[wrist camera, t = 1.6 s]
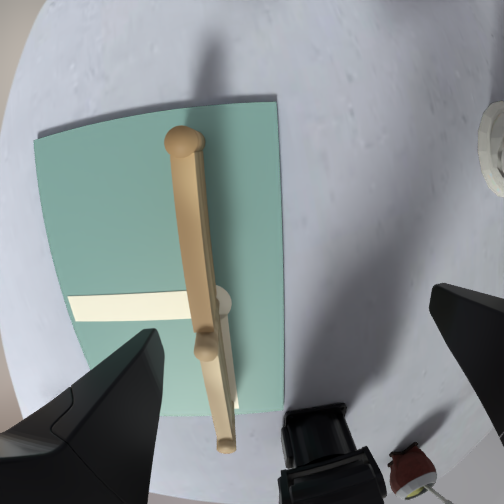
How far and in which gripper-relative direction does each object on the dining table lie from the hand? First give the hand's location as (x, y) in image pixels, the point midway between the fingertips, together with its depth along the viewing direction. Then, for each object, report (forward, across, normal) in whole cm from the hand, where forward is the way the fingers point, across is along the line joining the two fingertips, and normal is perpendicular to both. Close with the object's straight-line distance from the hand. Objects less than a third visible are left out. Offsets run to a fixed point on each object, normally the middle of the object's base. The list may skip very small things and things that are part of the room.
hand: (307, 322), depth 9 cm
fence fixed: (+13, +5, +12) cm, 18 cm away
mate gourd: (+13, -19, +38) cm, 45 cm away
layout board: (+13, +8, +5) cm, 16 cm away
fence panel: (+12, +4, -1) cm, 13 cm away
